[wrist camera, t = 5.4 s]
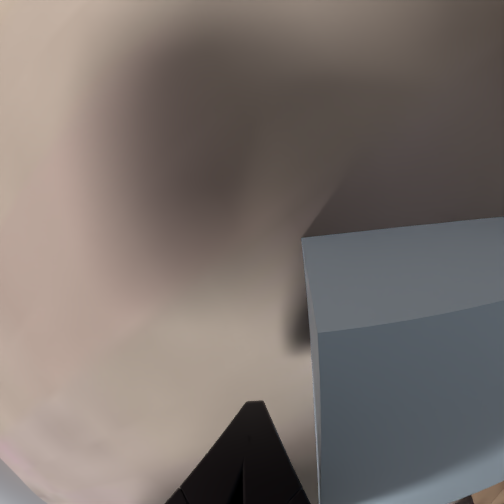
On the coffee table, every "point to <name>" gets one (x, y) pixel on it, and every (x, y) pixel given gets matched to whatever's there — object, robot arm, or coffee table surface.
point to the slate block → (407, 361)
